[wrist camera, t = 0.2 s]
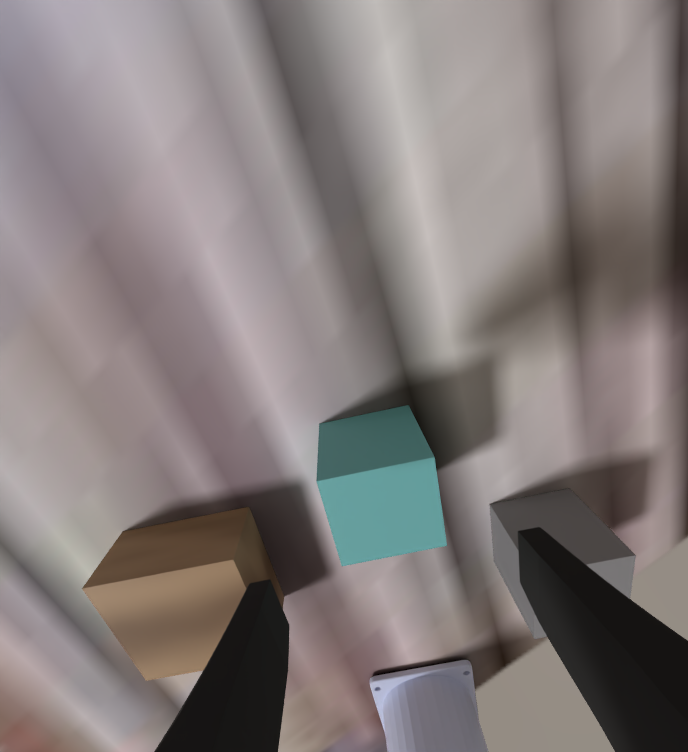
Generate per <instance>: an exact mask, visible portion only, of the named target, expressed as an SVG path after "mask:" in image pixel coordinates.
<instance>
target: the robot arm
mask: <svg viewBox="0 0 688 752" xmlns="http://www.w3.org/2000/svg"><path fill="white" fill-rule="evenodd" d="M518 550H519V575H520V583H521V586H522V588H523V590H524V592H525V594H526V596H527V598H528V601H529V603H530V605H531V607H532V609H533V611H534V613H535V615H536V617H537V619H538V621H539V623H540V625H541V627H542V628H543V630H544V632H545V633H546V635H547V637H548V639H549V640H550V642H551V644H552V645H553V647H554V648H555V650H556V652H557V654H558V655H559V657H560V658H561V660H562V662H563V664H564V665H565V667H566V669H567V670H568V672H569V674H570V675H571V677H572V679H573V680H574V682H575V684H576V685H577V687H578V689H579V690H580V692H581V694H582V695H583V697H584V699H585V700H586V702H587V704H588V705H589V707H590V709H591V710H592V712H593V714H594V715H595V717H596V719H597V721H598V722H599V724H600V726H601V727H602V729H603V731H604V732H605V734H606V736H607V738H608V740H609V741H610V743H611V745H612V747H613V749H614V750H615V752H688V641H687V640H686V639H684V638H683V637H682V636H680V635H679V634H677V633H676V632H675V631H673V630H672V629H670V628H669V627H667V626H666V625H665V624H663V623H662V622H661V621H659V620H657V619H656V618H655V617H653V616H652V615H651V614H649V613H648V612H647V611H645V610H644V609H643V608H641V607H640V606H639V605H637V604H636V603H634V602H633V601H632V600H631V599H629V598H628V597H627V596H625V595H624V594H623V593H621V592H620V591H619V590H618V589H616V588H615V587H614V586H612V585H611V584H610V583H608V582H607V581H606V580H604V579H603V578H602V577H601V576H599V575H598V574H597V573H596V572H594V571H593V570H592V569H591V568H589V567H588V566H587V565H586V564H584V563H583V562H582V561H581V560H580V559H578V558H577V557H576V556H575V555H573V554H572V553H571V552H570V551H569V550H567V549H566V548H565V547H564V546H563V545H561V544H560V543H559V542H558V541H557V540H555V539H554V538H553V537H552V536H551V535H549V534H548V533H547V532H546V531H545V530H543V529H542V528H540V527H536V528H531V529H525V530H520V531H518ZM288 655H289V624H288V621H287V619H286V616H285V614H284V611H283V609H282V606H281V604H280V602H279V599H278V597H277V594H276V592H275V589H274V587H273V584H272V582H271V580H270V579H268V580H263V581H258V582H253V583H250V584H249V585H248V587H247V589H246V591H245V593H244V595H243V597H242V599H241V601H240V603H239V604H238V606H237V608H236V610H235V612H234V614H233V616H232V618H231V620H230V622H229V624H228V626H227V628H226V630H225V632H224V634H223V635H222V637H221V639H220V641H219V643H218V645H217V647H216V648H215V650H214V652H213V654H212V656H211V658H210V659H209V661H208V663H207V665H206V667H205V669H204V670H203V672H202V674H201V676H200V677H199V679H198V681H197V683H196V684H195V686H194V688H193V689H192V691H191V693H190V695H189V696H188V698H187V700H186V701H185V703H184V705H183V706H182V708H181V710H180V711H179V713H178V715H177V716H176V718H175V720H174V721H173V723H172V725H171V726H170V728H169V729H168V731H167V733H166V734H165V736H164V737H163V739H162V741H161V742H160V744H159V745H158V747H157V748H156V750H155V752H278V746H279V738H280V730H281V722H282V714H283V706H284V698H285V690H286V682H287V673H288ZM370 687H371V690H372V693H373V697H374V700H375V703H376V706H377V709H378V713H379V716H380V719H381V722H382V725H383V729H384V732H385V735H386V743H387V751H388V752H488V748H487V745H486V742H485V739H484V736H483V732H482V729H481V726H480V723H479V719H478V710H477V702H476V695H475V687H474V679H473V671H472V666H471V663H470V661H468V660H460V661H454V662H449V663H443V664H438V665H432V666H427V667H421V668H416V669H410V670H405V671H399V672H394V673H388V674H383V675H377V676H373V677H371V679H370Z"/></svg>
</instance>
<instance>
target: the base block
mask: <svg viewBox="0 0 688 752" xmlns="http://www.w3.org/2000/svg"><path fill="white" fill-rule="evenodd" d="M268 579H270V580H271V582H272V584H273V587H274V589H275V592H276V594H277V597H278V599H279V602H280V604H281V606H282V609H283V601H284V595H283V593H282V590H281V587H280V585H279V582H278V580H277V577H276V575H275V572H274V569H273V567H272V564H271V562H270V559H269V557H268V554H267V551H266V549H265V546H264V544H263V541H262V539H261V536H260V533H259V531H258V528H257V526H256V523H255V521H254V518H253V515H252V513H251V510H250V508H249V507H245V508H240V509H235V510H230V511H225V512H219V513H214V514H209V515H204V516H199V517H194V518H189V519H184V520H179V521H174V522H169V523H163V524H158V525H153V526H148V527H143V528H138V529H133V530H128V531H123V532H122V533H121V535H120V536H119V538H118V539H117V540H116V542H115V543H114V545H113V546H112V547H111V549H110V550H109V552H108V553H107V554H106V556H105V557H104V559H103V560H102V561H101V563H100V564H99V566H98V567H97V568H96V570H95V571H94V573H93V574H92V575H91V577H90V578H89V580H88V581H87V582H86V584H85V585H84V587H83V588H82V589H83V591H84V592H85V594H86V595H87V596H88V598H89V599H90V601H91V602H92V604H93V605H94V606H95V608H96V609H97V611H98V612H99V614H100V615H101V617H102V618H103V619H104V621H105V622H106V624H107V625H108V627H109V628H110V629H111V631H112V632H113V634H114V635H115V637H116V638H117V639H118V641H119V642H120V644H121V645H122V647H123V648H124V650H125V651H126V652H127V654H128V655H129V657H130V658H131V660H132V661H133V662H134V664H135V665H136V667H137V668H138V670H139V671H140V672H141V674H142V675H143V677H144V678H145V680H146V681H147V680H153V679H158V678H164V677H169V676H175V675H180V674H186V673H191V672H197V671H202V670H204V669H205V667H206V665H207V663H208V661H209V659H210V658H211V656H212V654H213V652H214V650H215V648H216V647H217V645H218V643H219V641H220V639H221V637H222V635H223V634H224V632H225V630H226V628H227V626H228V624H229V622H230V620H231V618H232V616H233V614H234V612H235V610H236V608H237V606H238V604H239V603H240V601H241V599H242V597H243V595H244V593H245V591H246V589H247V587H248V585H249V584H250V583H253V582H258V581H263V580H268Z"/></svg>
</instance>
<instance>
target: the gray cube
mask: <svg viewBox="0 0 688 752" xmlns="http://www.w3.org/2000/svg"><path fill="white" fill-rule="evenodd" d="M490 516H491V529H492V543H493V556H494V563H495V564H496V566H497V568H498V570H499V572H500V574H501V576H502V578H503V580H504V582H505V584H506V586H507V587H508V589H509V591H510V593H511V595H512V597H513V599H514V601H515V603H516V605H517V607H518V609H519V611H520V612H521V614H522V616H523V618H524V620H525V622H526V624H527V626H528V628H529V630H530V632H531V634H532V636H533V637H534V639H538V638H543V637H547V635H546V633H545V632H544V630H543V628H542V627H541V625H540V623H539V621H538V619H537V617H536V615H535V613H534V611H533V609H532V607H531V605H530V603H529V601H528V598H527V596H526V594H525V592H524V590H523V588H522V586H521V583H520V575H519V550H518V531H520V530H525V529H531V528H536V527H540V528H542V529H543V530H545V531H546V532H547V533H548V534H549V535H551V536H552V537H553V538H554V539H555V540H557V541H558V542H559V543H560V544H561V545H563V546H564V547H565V548H566V549H567V550H569V551H570V552H571V553H572V554H573V555H575V556H576V557H577V558H578V559H580V560H581V561H582V562H583V563H584V564H586V565H587V566H588V567H589V568H591V569H592V570H593V571H594V572H596V573H597V574H598V575H599V576H601V577H602V578H603V579H604V580H606V581H607V582H608V583H610V584H611V585H612V586H614V587H615V588H616V589H618V590H619V591H620V592H621V593H623V594H624V595H625V596H627V597H628V598H629V599H630V595H631V587H632V580H633V572H634V564H635V557H636V555H635V554H634V553H633V552H632V551H631V550H630V549H629V548H628V547H627V546H626V545H625V544H624V543H623V542H622V541H621V540H620V539H619V538H618V537H617V536H616V535H615V534H614V533H613V532H612V531H611V530H610V529H609V528H608V527H607V526H606V525H605V524H604V523H603V522H602V521H601V520H600V519H599V518H598V517H597V516H596V514H595V513H594V512H593V511H592V510H591V509H590V508H589V507H588V506H587V505H586V504H585V503H584V502H583V501H582V500H581V499H580V498H579V497H578V496H577V495H576V494H575V493H574V492H573V491H572V490H571V489H570V488H568V489H563V490H558V491H553V492H548V493H543V494H538V495H533V496H528V497H523V498H518V499H513V500H508V501H503V502H498V503H493V504H490Z"/></svg>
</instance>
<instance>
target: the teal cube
mask: <svg viewBox="0 0 688 752" xmlns="http://www.w3.org/2000/svg"><path fill="white" fill-rule="evenodd" d="M317 484H318V488H319V491H320V494H321V498H322V501H323V504H324V508H325V511H326V514H327V518H328V521H329V525H330V528H331V531H332V535H333V538H334V541H335V545H336V548H337V551H338V555H339V558H340V561H341V565H342V566H346V565H351V564H356V563H361V562H366V561H371V560H376V559H381V558H386V557H392V556H397V555H402V554H407V553H412V552H417V551H422V550H427V549H432V548H437V547H443V546H447V543H446V536H445V529H444V521H443V514H442V507H441V500H440V493H439V486H438V479H437V472H436V464H435V457H434V455H433V453H432V451H431V449H430V447H429V445H428V443H427V441H426V439H425V437H424V435H423V433H422V431H421V429H420V427H419V425H418V423H417V421H416V419H415V417H414V415H413V413H412V411H411V409H410V407H409V405H406V406H401V407H397V408H392V409H387V410H382V411H378V412H373V413H368V414H363V415H359V416H354V417H349V418H344V419H340V420H335V421H330V422H326V423H321V424H319V442H318V463H317Z"/></svg>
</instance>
